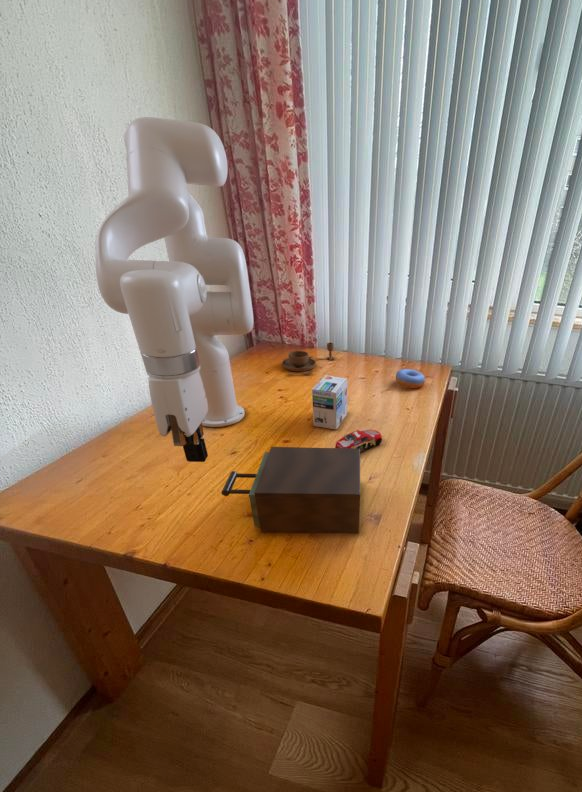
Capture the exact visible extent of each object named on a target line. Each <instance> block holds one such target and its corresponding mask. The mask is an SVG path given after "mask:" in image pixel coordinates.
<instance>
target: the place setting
mask: <svg viewBox="0 0 582 792" xmlns="http://www.w3.org/2000/svg"><path fill="white" fill-rule="evenodd" d="M326 350H327V351H328V357H326V360H328V361H334V360H335V358H334V357H332V356H333V354H332V352H333V351H334V343H333V342H327V343H326ZM281 365H282V367H283V368H284V369H285V370H287V371H290V372H293V373H289V374H287V376H293V375H300V374H302V375H310V374H312V373H313V371H312V370H313V369H314V368H315V367H316V365H317V361H316V360H315V359H314V358H313V355H311V356H309V353H308V352H307V351H303V350H293V351H290V352H289V353H288V358H285V359H283V360H282V361H281Z"/></svg>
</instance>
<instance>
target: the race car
mask: <svg viewBox="0 0 582 792" xmlns="http://www.w3.org/2000/svg"><path fill="white" fill-rule="evenodd" d="M382 442H383V436H382V434H381V432H380V431H379V430H375V429H364V430H359V429H357V430H354V431H352V432H349V433H347V434H346V435H344V436H342V437H341V438H340V439H337V441H336V443H335V446H334V448H352V449H360V453H361V452H364V451H366V450H368V449H371V448H373V447H375V446H379V445H381V443H382Z"/></svg>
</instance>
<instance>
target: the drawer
mask: <svg viewBox="0 0 582 792" xmlns="http://www.w3.org/2000/svg"><path fill="white" fill-rule="evenodd" d="M268 454H269V451H265V452H264V453H263V456H262V459H261V461H260V464H259V466H258V469H257V472H256V473H241V472H239V473H238V472H237V471H234V470H232V471H230V473H229V475H228V477H227V480H226V481H225V484H224V485H223V488H222V489H221V495H222V496H224V497H228V496H230V495H248V499H249V500H248V501H249V505H250V510H251V516H252V521H253V526H254V527H255V528H256V527H257V528H258V527H259V528H260V524H259V518H258V512H257V506H256V500H255V494H254V493H255V490H256V487H257V484H258V482H259V479H260V476H261V473H262V471H263V468H264V465H265V462H266V460H267V457H268ZM237 478H238V479H239V478H240V479H242V478H244V479H254V480H253V482H252V486H251V487H250V489H233V487H234V485H235V483H236V480H237Z"/></svg>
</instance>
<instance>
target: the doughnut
mask: <svg viewBox="0 0 582 792" xmlns="http://www.w3.org/2000/svg"><path fill="white" fill-rule="evenodd" d="M395 381H396V382H397V384H399V385H401V386H402V387H405V388H409V389H418V388H421V387H422V386H423V385H424V384H425V381H426V378H425V375H424V374H423V373H421V372H420V371H418V370H415V369H411V368H401V369H399V370H398V371H396V373H395Z"/></svg>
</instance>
